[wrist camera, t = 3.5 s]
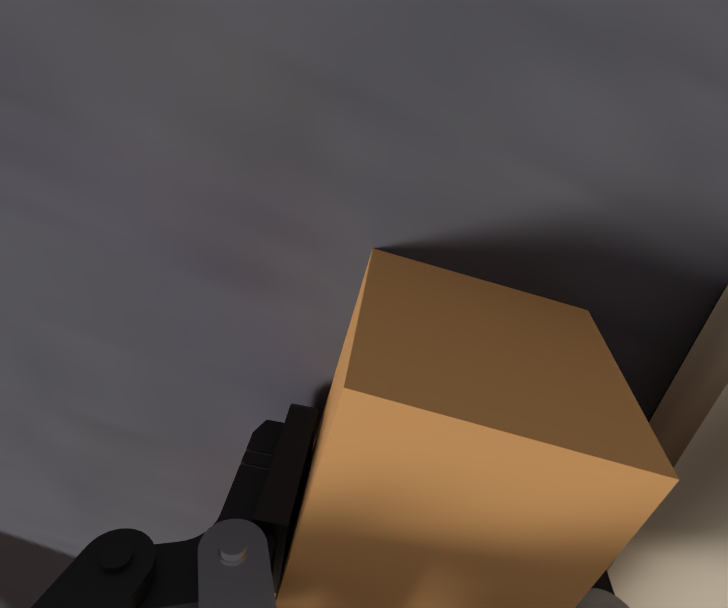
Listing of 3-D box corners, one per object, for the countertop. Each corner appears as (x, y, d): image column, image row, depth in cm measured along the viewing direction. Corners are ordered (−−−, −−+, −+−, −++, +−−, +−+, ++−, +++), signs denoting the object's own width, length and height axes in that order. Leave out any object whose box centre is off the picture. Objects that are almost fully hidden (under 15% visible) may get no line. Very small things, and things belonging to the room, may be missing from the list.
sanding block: (587, 308, 12) (679, 479, 8) (440, 569, 17) (446, 764, 13) (373, 246, 12) (343, 387, 7) (288, 530, 17) (240, 714, 12)
